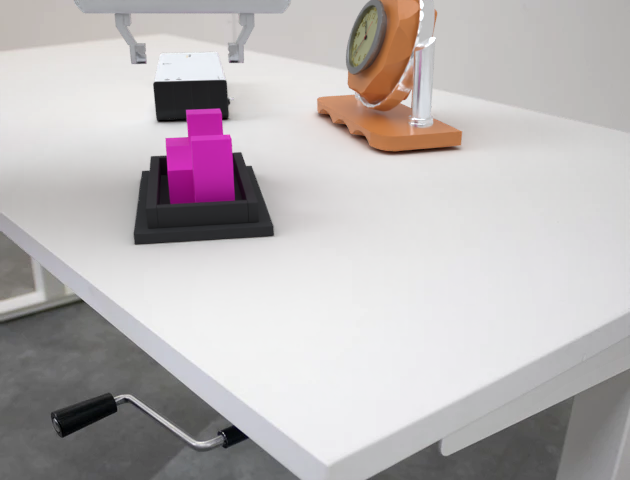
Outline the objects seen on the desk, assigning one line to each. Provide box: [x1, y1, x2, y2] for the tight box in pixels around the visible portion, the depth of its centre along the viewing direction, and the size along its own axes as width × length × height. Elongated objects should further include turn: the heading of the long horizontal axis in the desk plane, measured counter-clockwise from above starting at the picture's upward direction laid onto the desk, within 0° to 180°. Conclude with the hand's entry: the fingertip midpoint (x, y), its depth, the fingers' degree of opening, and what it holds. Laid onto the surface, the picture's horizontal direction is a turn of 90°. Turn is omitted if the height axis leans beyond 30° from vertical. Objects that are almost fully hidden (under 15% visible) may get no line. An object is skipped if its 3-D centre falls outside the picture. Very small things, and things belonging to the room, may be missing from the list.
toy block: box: [165, 109, 235, 204], centre depth 79 cm, size 15×6×8 cm, turn 11°
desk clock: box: [316, 0, 463, 153], centre depth 109 cm, size 12×30×20 cm, turn 18°
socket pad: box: [133, 151, 275, 245], centre depth 80 cm, size 13×22×3 cm, turn 10°
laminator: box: [152, 51, 235, 122], centre depth 132 cm, size 34×12×6 cm, turn 9°
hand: (188, 63), depth 74 cm, fingers open, 8 cm apart
